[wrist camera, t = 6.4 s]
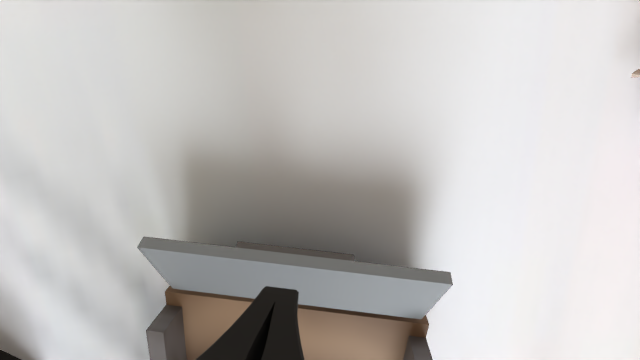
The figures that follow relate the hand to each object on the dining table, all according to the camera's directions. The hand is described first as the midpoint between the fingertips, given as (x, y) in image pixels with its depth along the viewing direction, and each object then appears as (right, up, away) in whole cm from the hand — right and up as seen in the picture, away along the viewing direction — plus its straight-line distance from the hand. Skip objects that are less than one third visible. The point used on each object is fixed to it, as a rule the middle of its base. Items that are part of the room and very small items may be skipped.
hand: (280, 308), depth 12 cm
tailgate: (0, -2, +6) cm, 6 cm away
